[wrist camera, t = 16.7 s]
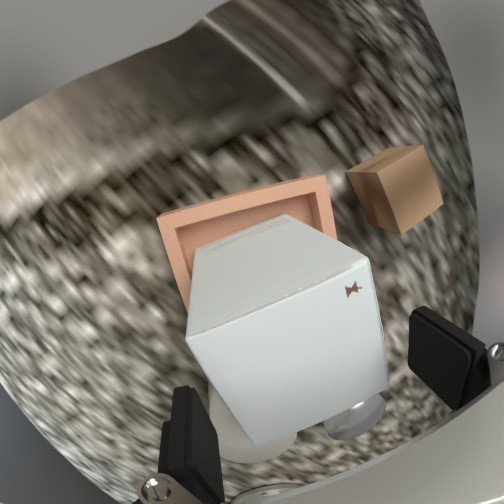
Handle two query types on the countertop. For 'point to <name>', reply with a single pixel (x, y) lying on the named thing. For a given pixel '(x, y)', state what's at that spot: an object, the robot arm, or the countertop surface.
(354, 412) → the grey tin
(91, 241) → the countertop surface
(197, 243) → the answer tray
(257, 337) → the supplement box
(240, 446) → the white rounded lump
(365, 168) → the walnut block
